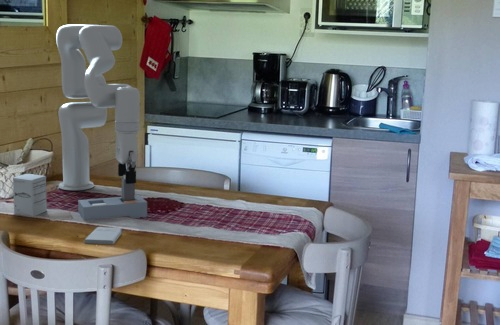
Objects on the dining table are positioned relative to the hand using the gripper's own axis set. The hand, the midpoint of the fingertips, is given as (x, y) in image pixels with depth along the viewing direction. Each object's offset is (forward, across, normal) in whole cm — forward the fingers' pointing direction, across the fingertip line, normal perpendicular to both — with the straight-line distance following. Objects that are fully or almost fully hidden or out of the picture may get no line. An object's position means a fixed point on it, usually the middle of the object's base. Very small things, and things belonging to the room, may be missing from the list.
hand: (126, 179), depth 213 cm
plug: (+10, +1, 0) cm, 10 cm away
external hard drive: (+12, +21, -12) cm, 27 cm away
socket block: (+12, +1, -5) cm, 13 cm away
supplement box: (+12, -8, -29) cm, 32 cm away
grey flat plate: (+12, 0, -21) cm, 24 cm away
